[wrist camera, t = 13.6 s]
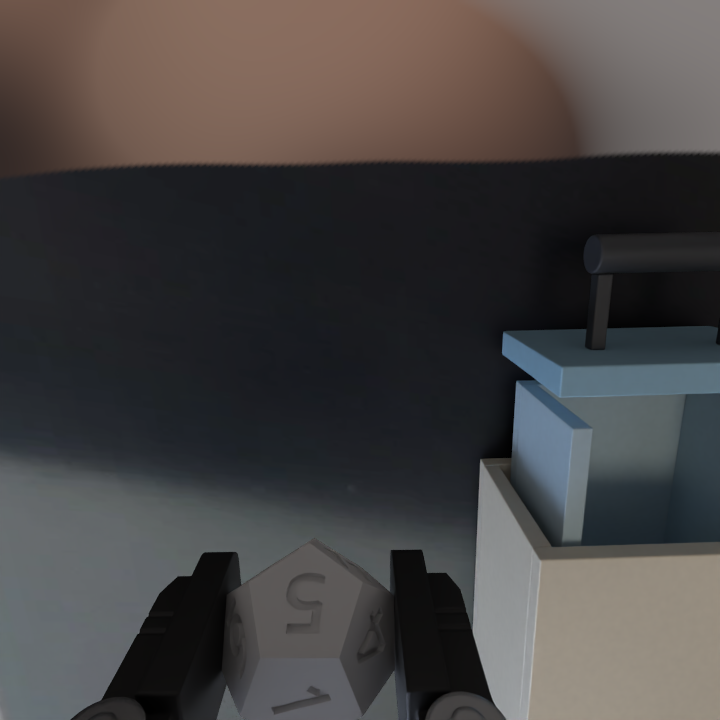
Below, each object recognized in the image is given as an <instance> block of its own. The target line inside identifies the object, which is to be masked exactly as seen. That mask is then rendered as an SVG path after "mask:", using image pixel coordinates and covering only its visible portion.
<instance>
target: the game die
mask: <svg viewBox="0 0 720 720" xmlns="http://www.w3.org/2000/svg"><path fill="white" fill-rule="evenodd" d="M394 670H395V626H394V595H393V594H391V593H390V592H389V591H388V590H387V589H386V588H385V587H383V586H382V585H381V584H380V583H379V582H378V581H376V580H375V579H374V578H373V577H372V576H371V575H369V574H368V573H367V572H366V571H365V570H364V569H363V568H361V567H360V566H358V565H357V564H355V563H353V562H352V561H350V560H349V559H347V558H345V557H344V556H342V555H341V554H339V553H338V552H336V551H334V550H333V549H331V548H330V547H328V546H326V545H325V544H323V543H322V542H320V541H318V540H317V539H315V538H314V539H312V540H311V541H309V542H308V543H306V544H304V545H303V546H301V547H300V548H298V549H297V550H295V551H293V552H292V553H290V554H289V555H287V556H285V557H284V558H282V559H281V560H279V561H278V562H276V563H274V564H273V565H271V566H270V567H268V568H267V569H265V570H264V571H262V572H261V573H259V574H258V575H256V576H255V577H253V578H252V579H250V580H249V581H247V582H245V583H244V584H242V585H241V586H239V587H238V588H236V589H235V590H233V591H232V592H230V593H229V594H227V599H226V613H225V628H224V643H223V658H222V673H223V676H224V678H225V681H226V683H227V686H228V688H229V690H230V693H231V695H232V698H233V700H234V703H235V705H236V708H237V710H238V712H239V715H240V716H241V717H243V718H245V719H247V720H356V719H358V718H360V717H362V716H363V715H364V713H365V712H366V710H367V709H368V708H369V706H370V705H371V703H372V702H373V700H374V699H375V697H376V696H377V694H378V693H379V692H380V690H381V689H382V687H383V686H384V684H385V683H386V681H387V680H388V679H389V677H390V676H391V674H392V673H393V671H394Z"/></svg>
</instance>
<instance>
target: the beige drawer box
mask: <svg viewBox="0 0 720 720" xmlns="http://www.w3.org/2000/svg"><path fill="white" fill-rule="evenodd" d="M511 460H512V458H492V459H480V479H479V501H478V524H477V546H476V569H475V591H474V614H473V635H474V639H475V642H476V646H477V649H478V653H479V656H480V660H481V663H482V666H483V670H484V673H485V677H486V680H487V684H488V687H489V691H490V694H491V697H492V699H493V702H494V703H495V705H496V707H497V708H498V709H499V710H500V711H501V713H502V714H503V715H504V717H505V718H506V720H720V542H698V543H667V544H636V545H605V546H573V547H552V546H551V545H550V543H549V541H548V540H547V538H546V537H545V535H544V534H543V532H542V531H541V529H540V528H539V526H538V525H537V523H536V522H535V520H534V519H533V517H532V516H531V514H530V513H529V511H528V509H527V508H526V506H525V505H524V503H523V502H522V500H521V499H520V497H519V496H518V494H517V493H516V491H515V490H514V488H513V487H512V485H511V484H510V476H511Z"/></svg>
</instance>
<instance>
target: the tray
mask: <svg viewBox="0 0 720 720" xmlns="http://www.w3.org/2000/svg"><path fill="white" fill-rule="evenodd" d="M583 259H584V265H585V268H586V270H587V271H588V272H589V273H591V274H592V277H591V288H590V298H589V308H588V318H587V329H569V330H530V331H504V332H503V347H502V354H503V355H504V356H505V357H507V358H508V359H509V360H511V361H512V362H513V363H515V364H516V365H517V366H519V367H520V368H521V369H523V370H524V371H525V372H527V373H528V374H529V375H531V376H532V377H533V378H535V379H536V380H529V381H516V395H515V411H514V427H513V444H512V460H511V476H510V484H511V485H512V487H513V488H514V490H515V491H516V493H517V494H518V496H519V497H520V499H521V500H522V502H523V503H524V505H525V506H526V508H527V509H528V511H529V513H530V514H531V516H532V517H533V519H534V520H535V522H536V523H537V525H538V526H539V528H540V529H541V531H542V532H543V534H544V535H545V537H546V538H547V540H548V541H549V543H550V545H551V546H552V547H573V546H605V545H636V544H667V543H698V542H720V320H719V326H718V328H716V327H712V326H686V327H647V328H608V329H607V326H608V317H609V307H610V298H611V289H612V280H613V274H609V273H646V272H687V271H720V232H680V233H636V234H595V235H593V236H591V237H590V238H589V239H588V241H587V242H586V245H585V248H584V256H583Z"/></svg>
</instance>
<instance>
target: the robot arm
mask: <svg viewBox="0 0 720 720" xmlns="http://www.w3.org/2000/svg"><path fill="white" fill-rule="evenodd" d="M239 586H241V579H240V568H239V558H238V554H237V553H236V552H205V553H203V554H202V556H201V558H200V560H199V562H198V564H197V566H196V568H195V570H194V572H193V574H192V576H178V577H177V578H176V579H175V580H174V581H173V582H171V583H170V584H169V585H168V586H167V587H166V588H165V589H164V590H163V591H162V592H161V593H160V594H159V596H158V597H157V599H156V601H155V603H154V605H153V607H152V608H151V610H150V612H149V616H148V617H147V618H146V619H145V621H144V623H143V625H142V627H141V629H140V633H139V634H137V636H136V638H135V639H134V641H133V643H132V645H131V647H130V649H129V650H128V652H127V654H126V656H125V658H124V660H123V661H122V663H121V665H120V667H119V669H118V671H117V672H116V674H115V676H114V678H113V680H112V682H111V683H110V685H109V687H108V689H107V691H106V693H105V694H104V696H103V698H102V700H101V701H99V702H96V703H94V704H92V705H90V706H88V707H87V708H85V709H84V710H82V711H81V712H79V713H78V714H77V715H76V716H74V717H73V718H72V719H71V720H216V719H217V715H218V712H219V708H220V705H221V701H222V698H223V694H224V691H225V687H226V684H227V683H226V681H225V678H224V676H223V673H222V658H223V643H224V628H225V613H226V599H227V594H229V593H230V592H232V591H233V590H235V589H236V588H238V587H239ZM390 593H391V594H393V595H394V626H395V670H394V672H395V683H396V695H397V707H398V719H399V720H506V718H505V717H504V715H503V714H502V713H501V711H500V710H499V709H498V708H497V707H496V705H495V703H494V702H493V699H492V697H491V694H490V691H489V687H488V684H487V680H486V677H485V673H484V670H483V666H482V663H481V660H480V656H479V653H478V649H477V646H476V642H475V639H474V635H473V632H472V629H471V625H470V622H469V618H468V615H467V613H466V608H465V604H464V601H463V597H462V594H461V591H460V589H459V587H458V586H457V585H456V584H455V583H454V582H453V580H452V579H451V578H450V577H449V576H448V574H447V573H427V571H426V566H425V561H424V556H423V552H422V550H391V555H390Z"/></svg>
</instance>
